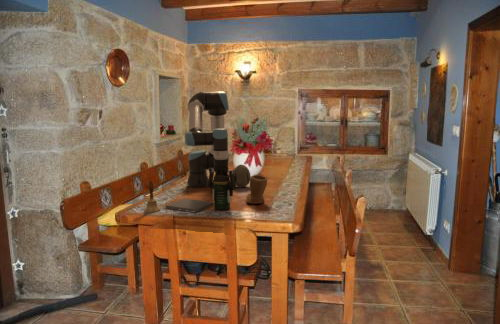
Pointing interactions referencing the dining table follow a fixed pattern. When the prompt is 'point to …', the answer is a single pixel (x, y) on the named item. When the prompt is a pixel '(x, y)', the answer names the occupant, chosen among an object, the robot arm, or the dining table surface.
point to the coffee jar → (221, 192)
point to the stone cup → (257, 189)
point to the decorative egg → (241, 176)
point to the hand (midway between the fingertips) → (222, 201)
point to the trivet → (190, 205)
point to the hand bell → (151, 200)
